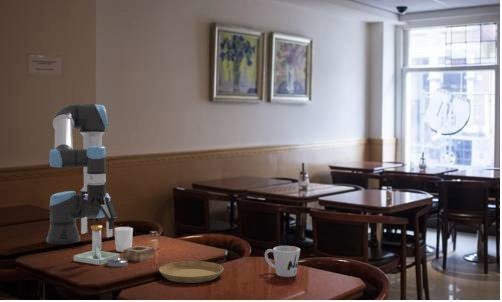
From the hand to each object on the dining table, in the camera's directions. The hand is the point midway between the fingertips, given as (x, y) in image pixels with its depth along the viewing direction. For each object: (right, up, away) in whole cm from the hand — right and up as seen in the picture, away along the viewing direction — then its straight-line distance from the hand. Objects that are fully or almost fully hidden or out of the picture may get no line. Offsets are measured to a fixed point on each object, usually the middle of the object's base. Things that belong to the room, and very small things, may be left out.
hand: (96, 234), depth 257 cm
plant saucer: (+41, -13, -21) cm, 48 cm away
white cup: (+7, -10, +19) cm, 23 cm away
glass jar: (0, -10, 0) cm, 10 cm away
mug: (+75, -13, -17) cm, 78 cm away
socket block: (+17, -11, +4) cm, 20 cm away
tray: (0, -11, 0) cm, 11 cm away
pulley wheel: (+10, -11, -7) cm, 17 cm away
